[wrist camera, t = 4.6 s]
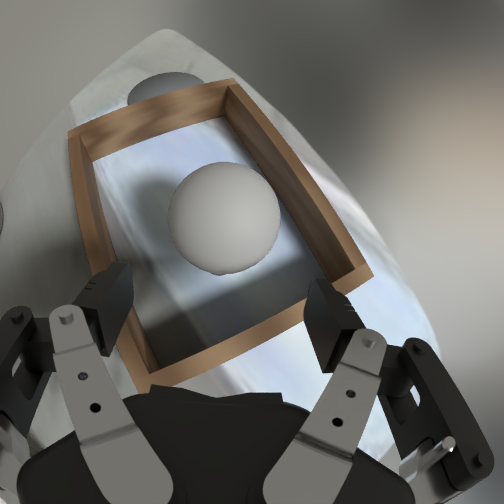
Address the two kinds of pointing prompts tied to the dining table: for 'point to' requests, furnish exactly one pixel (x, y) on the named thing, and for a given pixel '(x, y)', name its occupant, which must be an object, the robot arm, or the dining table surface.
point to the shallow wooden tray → (277, 173)
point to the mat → (162, 85)
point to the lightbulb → (224, 218)
